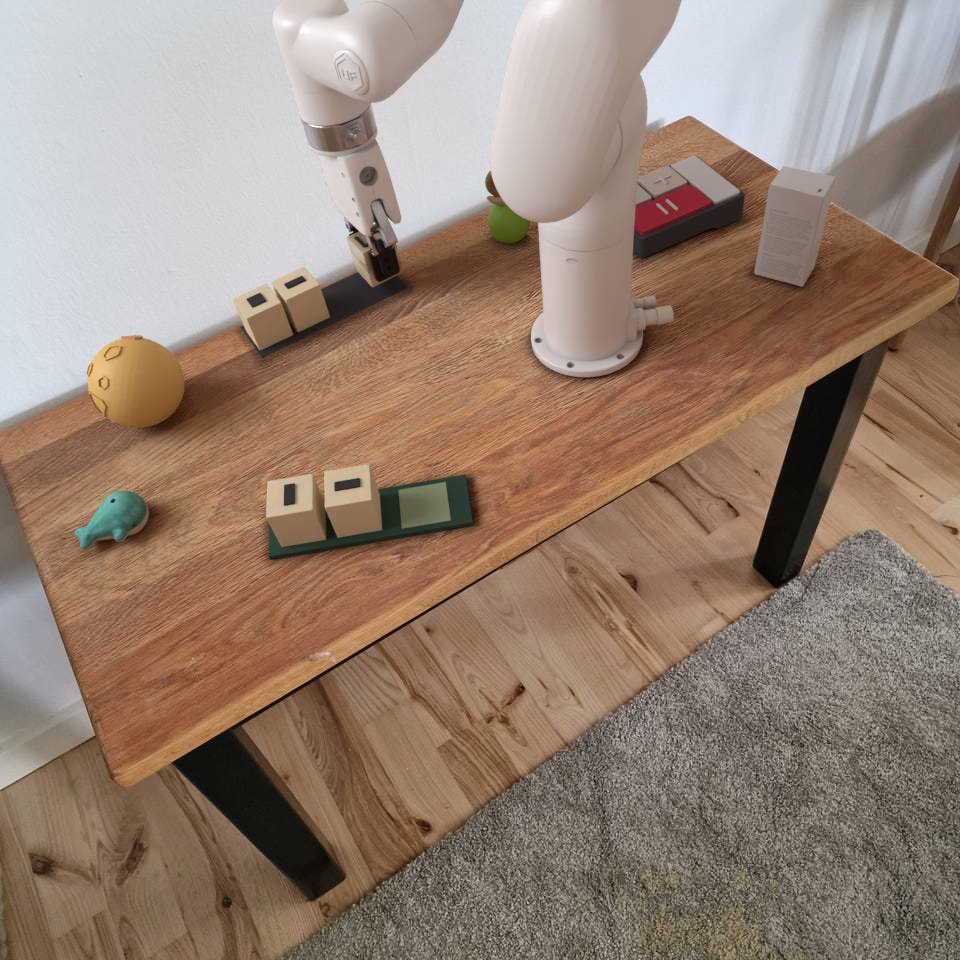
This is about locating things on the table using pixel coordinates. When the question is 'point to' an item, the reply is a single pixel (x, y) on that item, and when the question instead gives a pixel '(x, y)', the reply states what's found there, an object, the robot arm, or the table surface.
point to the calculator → (682, 204)
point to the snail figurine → (504, 217)
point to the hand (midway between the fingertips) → (378, 265)
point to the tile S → (366, 257)
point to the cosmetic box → (793, 225)
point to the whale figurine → (115, 519)
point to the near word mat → (359, 510)
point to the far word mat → (343, 304)
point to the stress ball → (135, 382)
